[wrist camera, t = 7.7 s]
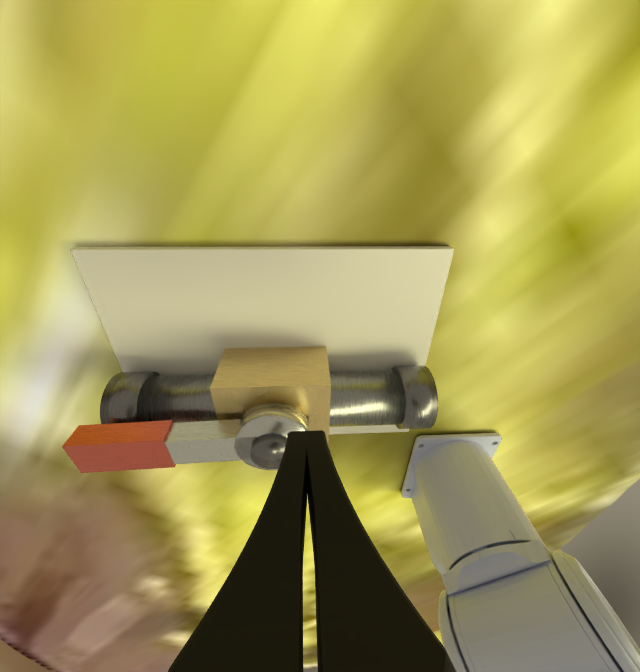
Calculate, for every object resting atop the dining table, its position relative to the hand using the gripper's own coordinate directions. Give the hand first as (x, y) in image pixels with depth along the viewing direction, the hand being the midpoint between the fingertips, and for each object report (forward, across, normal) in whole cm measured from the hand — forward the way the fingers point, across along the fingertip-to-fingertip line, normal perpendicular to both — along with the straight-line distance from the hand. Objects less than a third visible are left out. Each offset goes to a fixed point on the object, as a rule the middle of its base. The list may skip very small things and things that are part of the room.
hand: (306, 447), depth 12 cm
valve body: (+10, +2, +5) cm, 12 cm away
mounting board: (+10, +2, +3) cm, 11 cm away
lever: (+5, +7, +5) cm, 10 cm away
